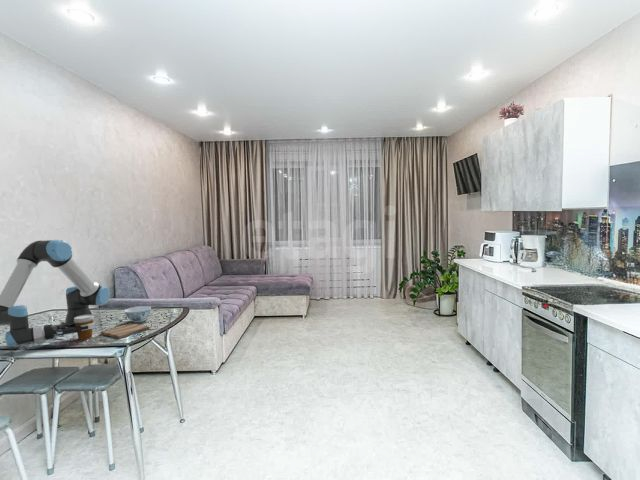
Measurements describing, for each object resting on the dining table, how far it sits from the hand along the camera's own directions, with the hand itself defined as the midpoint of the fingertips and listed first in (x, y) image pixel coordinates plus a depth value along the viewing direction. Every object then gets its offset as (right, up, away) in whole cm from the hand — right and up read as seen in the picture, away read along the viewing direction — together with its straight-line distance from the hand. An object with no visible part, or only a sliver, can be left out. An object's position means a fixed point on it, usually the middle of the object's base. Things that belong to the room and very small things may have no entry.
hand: (94, 323), depth 214 cm
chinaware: (+11, -5, +28) cm, 31 cm away
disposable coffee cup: (-4, -8, -2) cm, 9 cm away
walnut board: (+14, -6, +7) cm, 17 cm away
